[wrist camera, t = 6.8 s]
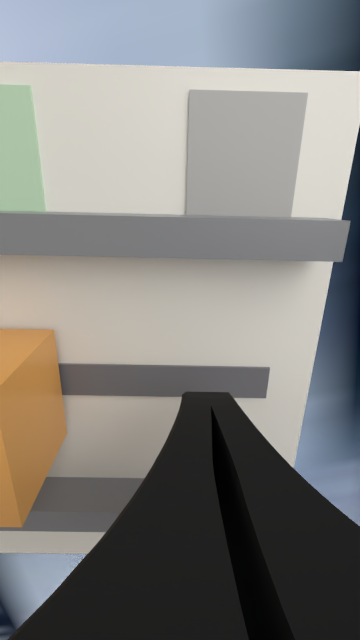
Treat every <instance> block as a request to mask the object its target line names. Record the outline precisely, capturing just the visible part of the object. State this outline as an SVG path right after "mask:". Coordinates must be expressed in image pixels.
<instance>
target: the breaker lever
mask: <svg viewBox="0 0 360 640" xmlns="http://www.w3.org/2000/svg"><path fill="white" fill-rule="evenodd" d="M66 435H67V428H66V420H65V413H64V405H63V397H62V389H61V381H60V373H59V366H58V358H57V350H56V342H55V334H54V330H37V329H0V527H22V526H23V524H24V522H25V520H26V518H27V516H28V514H29V512H30V510H31V508H32V506H33V503H34V501H35V499H36V497H37V495H38V493H39V491H40V489H41V487H42V485H43V483H44V480H45V478H46V476H47V474H48V472H49V470H50V468H51V466H52V464H53V462H54V460H55V457H56V455H57V453H58V451H59V449H60V447H61V445H62V443H63V441H64V439H65V437H66Z"/></svg>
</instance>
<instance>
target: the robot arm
mask: <svg viewBox="0 0 360 640" xmlns="http://www.w3.org/2000/svg"><path fill="white" fill-rule="evenodd" d="M8 640H360V526H358V525H357V524H356V523H355V522H353V521H352V520H351V519H349V518H348V517H347V516H346V515H345V514H343V513H342V512H341V511H340V510H339V509H337V508H336V507H335V506H334V505H333V504H331V503H330V502H329V501H328V500H327V499H326V498H325V497H324V496H322V495H321V494H320V493H319V492H318V491H317V490H316V489H315V488H313V487H312V486H311V485H310V484H309V483H308V482H307V481H306V480H305V479H304V478H303V477H302V476H301V475H300V474H299V473H298V472H297V471H295V469H294V468H293V467H292V466H291V465H290V464H289V463H288V462H287V461H286V460H285V459H284V458H283V457H282V456H281V455H280V454H279V453H278V452H277V451H276V449H275V448H274V447H273V446H272V445H271V444H270V443H269V442H268V440H267V439H266V438H265V437H264V436H263V435H262V433H261V432H260V431H259V430H258V429H257V428H256V426H255V425H254V424H253V423H252V422H251V420H250V419H249V418H248V416H247V415H246V414H245V413H244V411H243V410H242V409H241V407H240V406H239V405H238V403H237V402H236V401H235V399H234V398H233V397H232V395H231V394H230V393H229V392H185V393H184V394H182V399H181V404H180V408H179V411H178V414H177V417H176V419H175V422H174V424H173V426H172V429H171V431H170V433H169V435H168V437H167V440H166V442H165V444H164V445H163V447H162V449H161V451H160V453H159V455H158V456H157V458H156V460H155V462H154V464H153V466H152V467H151V469H150V471H149V472H148V474H147V475H146V477H145V479H144V480H143V482H142V483H141V485H140V486H139V488H138V489H137V491H136V492H135V494H134V495H133V497H132V498H131V500H130V501H129V502H128V504H127V505H126V506H125V508H124V509H123V510H122V512H121V513H120V514H119V516H118V517H117V519H116V520H115V521H114V523H113V524H112V525H111V526H110V528H109V529H108V530H107V532H106V533H105V534H104V535H103V537H102V538H101V539H100V540H99V541H98V543H97V544H96V545H95V546H94V547H93V548H92V550H91V551H90V552H89V553H88V554H87V555H86V556H85V558H84V559H83V560H82V561H81V562H80V563H79V564H78V566H77V567H76V568H75V569H74V570H73V571H72V573H71V574H70V575H69V576H68V577H67V578H66V579H65V581H64V582H63V583H62V584H61V585H60V586H59V587H58V588H57V589H56V590H55V592H54V593H53V594H52V595H51V596H50V597H49V598H48V599H47V600H46V601H45V602H44V603H43V604H42V605H41V606H40V607H39V608H38V609H37V610H36V611H35V612H34V613H33V614H32V615H31V616H30V617H29V618H28V619H27V620H26V621H25V622H24V623H23V624H22V625H21V626H20V627H19V629H18V630H17V631H16V632H15V633H14V634H13V635H12V636H11V637H10V638H9V639H8Z"/></svg>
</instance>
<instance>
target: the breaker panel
mask: <svg viewBox="0 0 360 640" xmlns="http://www.w3.org/2000/svg"><path fill="white" fill-rule="evenodd" d="M359 124H360V72H358V71H321V70H285V69H249V68H213V67H177V66H141V65H105V64H69V63H33V62H0V329H37V330H54V334H55V342H56V350H57V358H58V366H59V373H60V381H61V389H62V397H63V405H64V413H65V420H66V428H67V435H66V437H65V439H64V441H63V443H62V445H61V447H60V449H59V451H58V453H57V455H56V457H55V460H54V462H53V464H52V466H51V468H50V470H49V472H48V474H47V476H46V478H45V480H44V483H43V485H42V487H41V489H40V491H39V493H38V495H37V497H36V499H35V501H34V503H33V506H32V508H31V510H30V512H29V514H28V516H27V518H26V520H25V522H24V524H23V526H22V527H0V553H52V554H88V553H89V552H90V551H91V550H92V548H93V547H94V546H95V545H96V544H97V543H98V541H99V540H100V539H101V538H102V537H103V535H104V534H105V533H106V532H107V530H108V529H109V528H110V526H111V525H112V524H113V523H114V521H115V520H116V519H117V517H118V516H119V514H120V513H121V512H122V510H123V509H124V508H125V506H126V505H127V504H128V502H129V501H130V500H131V498H132V497H133V495H134V494H135V492H136V491H137V489H138V488H139V486H140V485H141V483H142V482H143V480H144V479H145V477H146V475H147V474H148V472H149V471H150V469H151V467H152V466H153V464H154V462H155V460H156V458H157V456H158V455H159V453H160V451H161V449H162V447H163V445H164V444H165V442H166V440H167V437H168V435H169V433H170V431H171V429H172V426H173V424H174V422H175V419H176V417H177V414H178V411H179V408H180V404H181V399H182V394H184V393H185V392H229V393H230V394H231V395H232V397H233V398H234V399H235V401H236V402H237V403H238V405H239V406H240V407H241V409H242V410H243V411H244V413H245V414H246V415H247V416H248V418H249V419H250V420H251V422H252V423H253V424H254V425H255V426H256V428H257V429H258V430H259V431H260V432H261V433H262V435H263V436H264V437H265V438H266V439H267V440H268V442H269V443H270V444H271V445H272V446H273V447H274V448H275V449H276V451H277V452H278V453H279V454H280V455H281V456H282V457H283V458H284V459H285V460H286V461H287V462H288V463H289V464H290V465H291V466H292V467H293V468H294V464H295V458H296V453H297V448H298V443H299V438H300V432H301V427H302V422H303V417H304V411H305V406H306V401H307V396H308V391H309V385H310V380H311V375H312V370H313V364H314V359H315V354H316V349H317V343H318V338H319V333H320V328H321V323H322V317H323V312H324V307H325V302H326V296H327V291H328V286H329V281H330V276H331V270H332V265H333V262H342V260H343V256H344V251H345V246H346V241H347V236H348V231H349V226H350V221H346V220H341V218H342V213H343V208H344V202H345V197H346V192H347V187H348V181H349V176H350V171H351V166H352V161H353V155H354V150H355V145H356V140H357V134H358V129H359Z"/></svg>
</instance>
